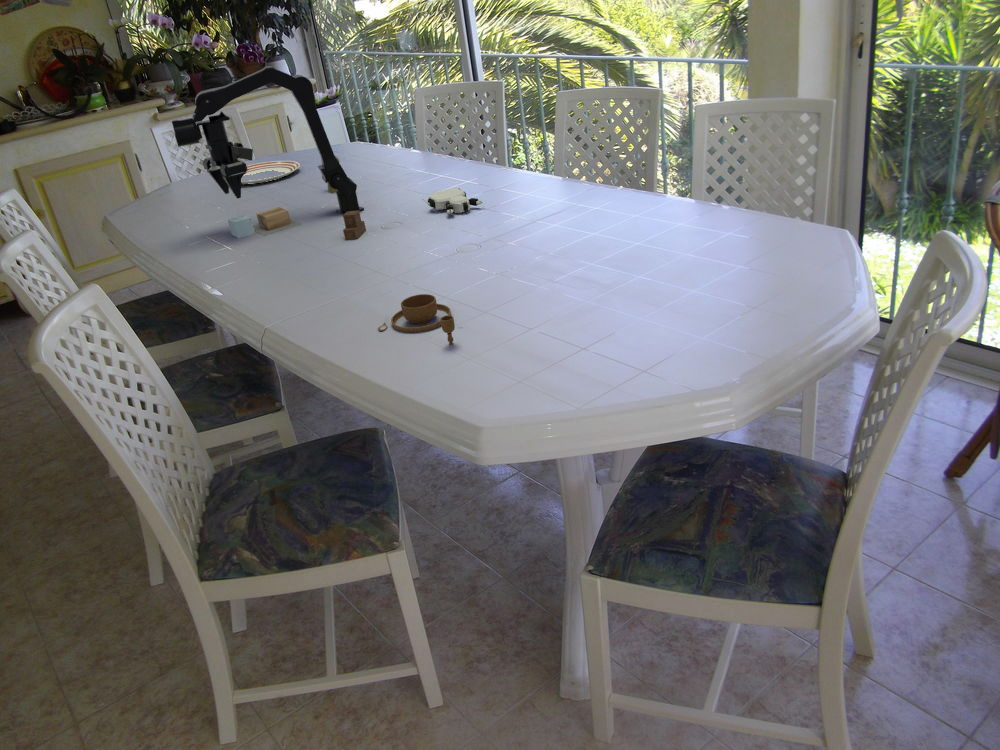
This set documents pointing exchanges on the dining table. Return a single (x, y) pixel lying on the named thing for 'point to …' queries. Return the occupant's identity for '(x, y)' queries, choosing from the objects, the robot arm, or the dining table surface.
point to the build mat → (267, 232)
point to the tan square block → (273, 218)
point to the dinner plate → (269, 166)
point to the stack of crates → (353, 225)
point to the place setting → (423, 315)
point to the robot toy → (451, 201)
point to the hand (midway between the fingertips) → (233, 195)
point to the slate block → (241, 226)
